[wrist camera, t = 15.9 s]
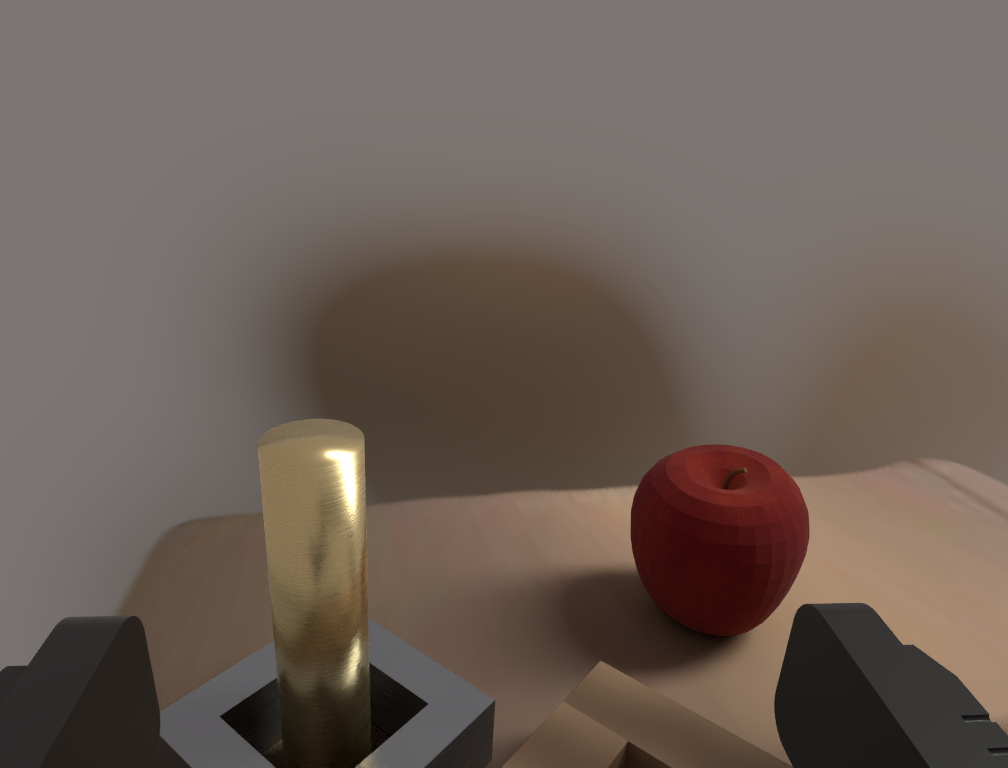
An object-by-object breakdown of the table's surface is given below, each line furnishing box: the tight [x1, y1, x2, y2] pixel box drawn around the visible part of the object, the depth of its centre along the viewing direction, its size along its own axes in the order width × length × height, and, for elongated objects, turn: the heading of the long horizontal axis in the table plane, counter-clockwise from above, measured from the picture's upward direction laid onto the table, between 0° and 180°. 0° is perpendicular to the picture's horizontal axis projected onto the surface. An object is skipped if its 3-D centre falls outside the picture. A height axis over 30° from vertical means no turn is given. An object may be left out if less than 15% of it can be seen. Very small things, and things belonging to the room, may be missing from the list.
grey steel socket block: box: [153, 618, 495, 768], centre depth 31 cm, size 10×10×4 cm
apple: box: [631, 445, 809, 636], centre depth 41 cm, size 10×10×10 cm
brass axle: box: [258, 419, 371, 768], centre depth 28 cm, size 4×4×16 cm
